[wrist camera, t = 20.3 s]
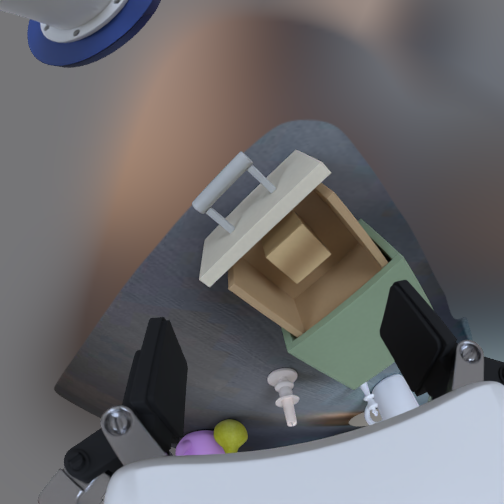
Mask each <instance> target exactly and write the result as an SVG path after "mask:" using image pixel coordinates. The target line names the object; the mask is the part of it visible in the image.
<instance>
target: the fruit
mask: <svg viewBox="0 0 504 504" xmlns="http://www.w3.org/2000/svg"><path fill="white" fill-rule="evenodd" d="M247 438H248V435H247V431H246V429H245V427H244V426H243V424H241V423H240V422H238V421H236V420H233V419H227V420H224V421H221V422H220V423H218V424H217V425H216V427H215V428H214V439H215V441H216V442H217V443H218V444H219V445H220V446H221V447H222V448H223V449H224V451H225V454H226V453H237V450H238V448H239V447H240V446H241V445H242V444H244V443H245V442H246V440H247Z"/></svg>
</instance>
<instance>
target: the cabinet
mask: <svg viewBox="0 0 504 504" xmlns="http://www.w3.org/2000/svg"><path fill="white" fill-rule="evenodd" d="M358 222H359V224H360V225H361V226H362V228H363V229H364V230H365V231H366V233H367V234H368V235H369V237H370V238H371V239H372V241H373V242H374V243H375V245H376V246H377V248H378V249H379V250H380V252H381V253H382V254H383V256H384V257H385V259H386V260H387V261H388V264H387V265H386V266H384V267H383V268H382V269H381V270H380V271H379V272H378V273H377V274H376V275H374V276H373V277H372V278H371V279H370V280H369V281H368V282H367V283H365V284H364V285H363V286H362V287H361V288H360V289H358V290H357V291H356V292H355V293H354V294H353V295H351V296H350V297H349V298H348V299H347V300H345V301H344V302H343V303H342V304H341V305H339V306H338V307H337V308H336V309H334V310H333V311H332V312H331V313H329V314H328V315H327V316H326V317H324V318H323V319H322V320H320V321H319V322H318V323H317V324H315V325H314V326H313V327H311V328H310V329H309V330H307V331H306V332H305V333H303V334H302V335H301V336H299V337H298V338H297V337H296V336H294V335H293V334H291V333H290V332H288V331H287V330H285V329H284V328H282V327H281V328H282V332H283V336H284V340H285V344H286V348H287V352H288V353H290V354H291V355H293V356H295V357H296V358H298V359H300V360H301V361H303V362H305V363H307V364H308V365H310V366H312V367H313V368H315V369H317V370H319V371H320V372H322V373H324V374H326V375H328V376H329V377H331V378H333V379H335V380H337V381H338V382H340V383H342V384H344V385H346V386H348V387H349V388H351V389H353V390H355V389H356V388H358V387H360V386H361V385H363V384H364V383H366V382H367V381H369V380H370V379H371V378H373V377H374V376H376V375H377V374H379V373H380V372H381V371H383V370H384V369H386V368H387V367H388V366H390V365H391V364H392V363H394V362H395V361H394V359H393V357H392V356H391V354H390V352H389V350H388V349H387V347H386V345H385V344H384V342H383V340H382V338H381V336H380V327H381V323H382V319H383V315H384V311H385V307H386V303H387V299H388V294H389V290H390V287H391V286H392V285H393V283H394V282H396V281H401V280H407V281H408V282H409V283H410V284H411V285H412V286H413V287H414V288H415V289H416V291H417V292H418V293H419V294H420V295H421V296H422V297H423V299H424V300H425V301H426V302H427V303H428V304H429V306H430V307H431V308H432V306H431V304H430V302H429V300H428V298H427V297H426V295H425V293H424V291H423V289H422V288H421V286H420V284H419V282H418V280H417V279H416V277H415V275H414V274H413V272H412V270H411V269H410V267H409V265H408V264H407V262H406V260H405V259H404V257H403V256H402V255H401V254H400V253H399V252H398V251H397V250H395V249H394V248H393V247H392V246H391V245H390V244H389V243H388V242H387V241H386V240H385V239H383V238H382V237H381V236H380V235H379V234H378V233H377V232H376V231H375V230H373V229H372V228H371V227H370V226H369V225H368V224H366V223H365V222H364V221H363V220H362V219H360V220H359V221H358ZM432 309H433V308H432Z"/></svg>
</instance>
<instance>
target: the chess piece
mask: <svg viewBox="0 0 504 504" xmlns="http://www.w3.org/2000/svg"><path fill="white" fill-rule="evenodd" d="M360 388H361V389H362V391H363V392H364V394H365V396H366V397H365V398H364V401H368V410H373V411H372V413H374V414H375V416H377V415H378V411H376V409H375V408H376V407H377V406H378V404H377V403H376V402H375V401H374V400H373V399H372V398H373V397H374V394H370V392H369V388H368V385H367V382H366V383H364V384H363V385H361V386H360Z"/></svg>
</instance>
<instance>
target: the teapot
mask: <svg viewBox="0 0 504 504" xmlns="http://www.w3.org/2000/svg"><path fill="white" fill-rule="evenodd" d="M209 454H225V451H224V449H223V448H222V447H221V446H220V445H219V444H218V443H217V442H216V441H215V439H214V431H211V430H201V431H196V432H192V433H189V434H187V435H185V436H184V437H183V438H182V439H181V441H180V442H179V444H178V445H177V447H176V456H182V455H209Z"/></svg>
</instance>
